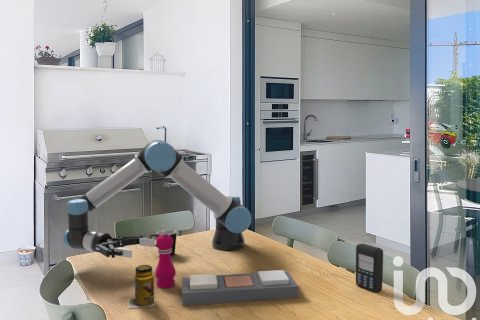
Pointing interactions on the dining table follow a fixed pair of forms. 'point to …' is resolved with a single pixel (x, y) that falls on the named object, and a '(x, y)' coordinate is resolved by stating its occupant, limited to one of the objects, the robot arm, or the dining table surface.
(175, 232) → the coffee mug
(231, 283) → the key terracotta
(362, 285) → the card reader
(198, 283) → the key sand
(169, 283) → the pepper mill
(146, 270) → the condiment
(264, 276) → the key grey
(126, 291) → the dining table surface
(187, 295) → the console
